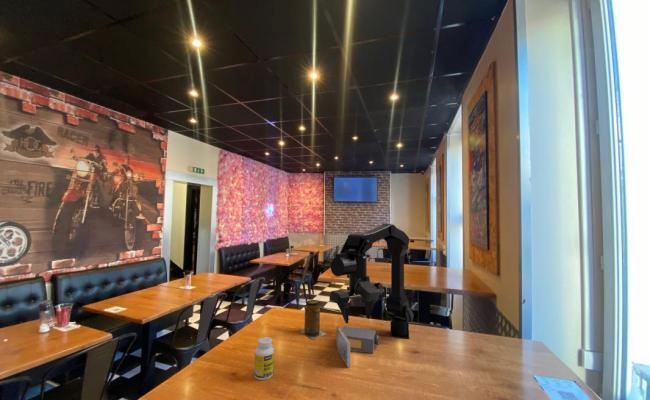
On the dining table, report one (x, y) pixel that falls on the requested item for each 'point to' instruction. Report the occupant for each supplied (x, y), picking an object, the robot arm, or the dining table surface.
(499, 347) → the dining table surface
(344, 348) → the side door
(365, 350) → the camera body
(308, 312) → the condiment
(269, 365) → the supplement bottle
